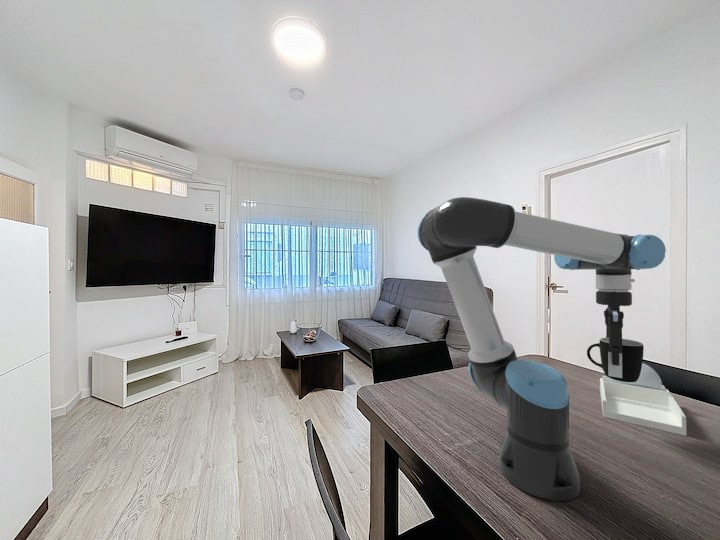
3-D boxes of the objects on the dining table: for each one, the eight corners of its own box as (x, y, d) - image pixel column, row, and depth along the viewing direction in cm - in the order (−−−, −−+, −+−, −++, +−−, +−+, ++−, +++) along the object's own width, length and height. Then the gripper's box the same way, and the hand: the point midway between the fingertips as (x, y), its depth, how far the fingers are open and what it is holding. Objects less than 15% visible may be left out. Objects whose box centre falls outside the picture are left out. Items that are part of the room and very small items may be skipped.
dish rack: (686, 435, 77) (686, 413, 77) (603, 416, 87) (602, 396, 87) (667, 404, 94) (667, 386, 94) (600, 391, 104) (599, 375, 104)
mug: (646, 379, 78) (646, 341, 78) (640, 387, 73) (640, 347, 73) (591, 367, 88) (591, 334, 88) (582, 374, 82) (582, 338, 82)
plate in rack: (662, 406, 91) (661, 364, 91) (608, 395, 99) (607, 357, 99) (661, 404, 92) (660, 363, 92) (608, 394, 100) (607, 356, 100)
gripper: (637, 293, 69) (637, 387, 69) (627, 289, 86) (627, 364, 86) (597, 292, 74) (597, 380, 74) (595, 288, 91) (595, 359, 91)
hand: (613, 371), depth 80 cm, fingers closed on mug, 9 cm apart
